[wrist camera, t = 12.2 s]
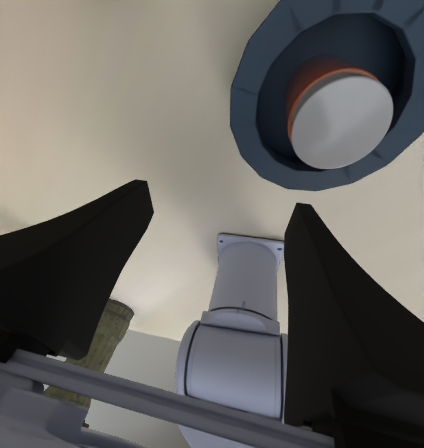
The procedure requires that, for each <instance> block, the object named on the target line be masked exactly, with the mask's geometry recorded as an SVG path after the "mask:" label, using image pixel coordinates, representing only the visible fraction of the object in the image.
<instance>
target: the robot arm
mask: <svg viewBox="0 0 424 448" xmlns="http://www.w3.org/2000/svg"><path fill="white" fill-rule="evenodd" d="M153 214H154V210H153V206H152V201H151V197H150V192H149V188H148V183H147V181H143V180H133V181H131V182H129V183H127V184H125V185H123V186H121V187H119V188H117V189H115V190H113V191H111V192H109V193H108V194H106V195H104V196H102V197H100V198H98V199H96V200H94V201H92V202H90V203H88V204H86V205H84V206H81V207H79V208H77V209H75V210H73V211H71V212H68V213H66V214H63V215H61V216H58V217H56V218H53V219H51V220H48V221H45V222H42V223H39V224H36V225H33V226H30V227H27V228H24V229H21V230H18V231H14V232H11V233H7V234H4V235H0V448H152V447H149V446H146V445H142V444H139V443H136V442H133V441H129V440H125V439H122V438H119V437H116V436H112V435H109V434H106V433H102V432H99V431H95V430H92V429H89V428H85V427H82V424H83V422H84V420H85V418H86V415H87V413H88V409H87V408H84V407H81V406H78V405H74V404H71V403H68V402H65V401H61V400H58V399H55V398H51V397H48V396H45V395H44V385H43V384H46V385H49V386H52V387H56V388H59V389H62V390H66V391H69V392H72V393H76V394H79V395H82V396H85V397H89V398H92V399H95V400H99V401H102V402H105V403H109V404H112V405H115V406H119V407H122V408H125V409H129V410H132V411H135V412H139V413H142V414H145V415H148V416H152V417H155V418H158V419H162V420H165V421H168V422H172V423H175V424H177V425H178V427H179V428H180V430H181V432H182V434H183V435H184V437H185V438H186V440H187V442H188V443H189V445H190V446H191V448H424V322H423V321H421V320H420V319H419V318H417V317H416V316H415V315H414V314H412V313H411V312H410V311H409V310H408V309H406V308H405V307H404V306H403V305H401V304H400V303H399V302H398V301H397V300H396V299H395V298H393V297H392V296H391V295H390V294H389V293H388V292H386V291H385V290H384V289H383V288H382V287H381V286H380V285H379V284H378V283H377V282H376V281H374V280H373V279H372V278H371V277H370V276H369V275H368V274H367V273H366V272H365V271H364V270H363V269H362V268H361V267H360V266H359V265H358V264H357V262H356V261H355V260H354V259H353V258H352V257H351V256H350V255H349V254H348V252H347V251H346V250H345V249H344V248H343V247H342V245H341V244H340V243H339V242H338V241H337V239H336V238H335V237H334V236H333V234H332V233H331V232H330V230H329V229H328V228H327V226H326V225H325V224H324V222H323V221H322V220H321V218H320V217H319V215H318V214H317V213H316V211H315V210H314V208H313V207H312V206H311V205H310V204H303V203H296V205H295V208H294V211H293V213H292V216H291V218H290V221H289V224H288V226H287V229H286V231H285V235H284V242H282V241H275V240H267V239H259V238H251V237H243V236H235V235H227V234H219V235H218V238H217V241H218V270H217V275H216V279H215V283H214V288H213V292H212V296H211V301H210V305H209V310H208V312H207V311H203V313H202V317H201V321H199V320H196V321H194V322H193V323H192V324H191V325H190V326H189V327H188V328H187V330H186V332H185V333H184V336H183V338H182V341H181V344H180V347H179V351H178V356H177V361H176V372H175V375H176V376H175V377H176V385H177V390H176V393H173V392H170V391H166V390H163V389H159V388H156V387H152V386H148V385H145V384H141V383H138V382H134V381H130V380H127V379H124V378H120V377H116V376H113V375H109V374H106V373H102V372H99V371H95V370H92V369H88V368H84V367H81V366H77V365H74V364H70V363H67V362H63V361H60V360H56V359H52V358H49V357H46V355H47V354H48V355H51V356H55V357H56V356H58V355H59V356H63V357H66V358H70V359H73V360H77V361H78V360H81V359H82V358H84V357H85V356H87V355H88V352H89V349H90V346H91V343H92V340H93V337H94V335H95V332H96V329H97V326H98V324H99V321H100V319H101V316H102V314H103V311H104V309H105V306H106V304H107V302H108V299H109V297H110V295H111V292H112V290H113V288H114V286H115V284H116V282H117V279H118V277H119V275H120V273H121V271H122V269H123V267H124V266H125V264H126V262H127V261H128V259H129V257H130V256H131V254H132V252H133V251H134V249H135V248H136V246H137V244H138V243H139V241H140V240H141V238H142V236H143V235H144V233H145V231H146V230H147V228H148V225H149V223H150V221H151V219H152V216H153ZM222 240H223V241H222ZM283 252H284V261H285V271H286V281H287V291H288V335H287V334H284V333H281V335H280V323H279V322H278V321H277V272H278V268H279V265H280V262H281V258H282V255H283Z"/></svg>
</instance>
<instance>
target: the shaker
mask: <svg viewBox="0 0 424 448" xmlns="http://www.w3.org/2000/svg"><path fill="white" fill-rule="evenodd" d="M284 105H285V113H286V121H287V128H288V135H289V139H290V141H291V143H292V146H293V149H294V151H295V153H296V155H297V156H298V157H299V158H300V159H301V160H302V161H303V162H304V163H306V164H308V165H310V166H312V167H315V168H320V169H335V168H340V167H344V166H347V165H350V164H352V163H354V162H356V161H358V160H360V159H361V158H363V157H365V156H366V155H367V154H369V153H370V152H371V151H372V150H373V149H374V148H375V147H376V146H377V145H378V144H379V143H380V142H381V140H382V139H383V138H384V136H385V134H386V133H387V131H388V129H389V126H390V124H391V121H392V117H393V101H392V97H391V95H390V92H389V91H388V89H387V88H386V87H385V86H384V85H383V84H382V83H381V82H380V81H379V80H378V79H377V78H376V77H375V76H374V75H373V74H372V73H370V72H368V71H366V70H364V69H363V68H361V67H359V66H357V65H355V64H353V63H351V62H349V61H347V60H345V59H343V58H341V57H339V56H337V55H334V54H326V53H325V54H319V55H315V56H313V57H311V58H309V59H307V60H305V61H304V62H303V63H301V64H300V65H299V66H298V67H297V68H296V69H295V70H294V72H293V73H292V75H291V76H290V78H289V80H288V82H287V84H286V87H285V91H284Z"/></svg>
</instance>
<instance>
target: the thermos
mask: <svg viewBox="0 0 424 448" xmlns="http://www.w3.org/2000/svg"><path fill="white" fill-rule="evenodd" d="M133 315H134V312H133V311H132V309H130V308H129V307H128V306H126V305H124V304H122V303H120V302H117V301H114V300H110V299H108V302H107V304H106V306H105V309H104V311H103V314H102V316H101V319H100V321H99V324H98V326H97V329H96V332H95V335H94V337H93V340H92V343H91V346H90V349H89V352H88V355H87V356H85V357H84V358H82V359H81V360H78V361H77V360H73V359H70V358H67V359H66V361H65V362H67V363H70V364H74V365H77V366H81V367H84V368H88V369H92V370H95V371H99V372H102V373H104V371H105V369H106V367H107V365H108V363H109V361H110V358H111V357H112V354H113V352H114V350H115V348H116V346H117V345H118V344H119V342H120V341H121V340H122V339H123V337H124V335H125V333H126V331H127V329H128V327H129V323H130V320H131V318H132V317H133ZM44 395H45V396H48V397H51V398H55V399H58V400H61V401H65V402H68V403H71V404H74V405H78V406H81V407H84V408H87V409H88V410H89V408H90V403H91V398H89V397H85V396H82V395H79V394H76V393H72V392H69V391H66V390H62V389H59V388H56V387H52V386H49V387H48V388H47V389H46V390H45V391H44ZM84 422H85V420H84ZM84 422H83V424H82V427H85V428H88V427H89V425H88V424H86V423H84Z"/></svg>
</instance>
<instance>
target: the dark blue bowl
mask: <svg viewBox="0 0 424 448" xmlns="http://www.w3.org/2000/svg"><path fill="white" fill-rule="evenodd" d="M325 53H326V54H334V55H337V56H339V57H341V58H343V59H345V60H347V61H349V62H351V63H353V64H355V65H357V66H359V67H361V68H363V69H364V70H366V71H368V72H370V73H372V74H373V75H374V76H375V77H376V78H377V79H378V80H379V81H380V82H381V83H382V84H383V85H384V86H385V87H386V88H387V89H388V91H389V92H390V95H391V97H392V101H393V117H392V121H391V124H390V126H389V129H388V131H387V133H386V134H385V136H384V138H383V139H382V140H381V142H380V143H379V144H378V145H377V146H376V147H375V148H374V149H373V150H372V151H371V152H370V153H369V154H367V155H366V156H365V157H363V158H361V159H360V160H358V161H356V162H354V163H352V164H350V165H347V166H344V167H340V168H335V169H320V168H315V167H312V166H310V165H308V164H306V163H304V162H303V161H302V160H301V159H300V158H299V157H298V156H297V155H296V153H295V151H294V149H293V146H292V143H291V141H290V139H289V135H288V128H287V121H286V113H285V105H284V91H285V87H286V84H287V82H288V80H289V78H290V76H291V75H292V73H293V72H294V70H295V69H296V68H297V67H298V66H299V65H300V64H301V63H303V62H304V61H305V60H307V59H309V58H311V57H313V56H315V55H319V54H325ZM230 127H231V130H232V133H233V135H234V138H235V141H236V144H237V146H238V149H239V152H240V154H241V156H242V158H243V159H244V160H245V161H246V162H247V163H248V164H249V165H250V166H251V167H252V168H253V169H254V170H255V171H256V172H257V174H258V175H259V176H261V177H262V178H264V179H266V180H268V181H271V182H273V183H275V184H277V185H279V186H282V187H284V188H287V189H295V190H307V191H320V190H324V189H329V188H334V187H338V186H343V185H347V184H351V183H354V182H356V181H358V180H360V179H362V178H363V177H365V176H367V175H369V174H371V173H373V172H375V171H377V170H379V169H381V168H383V167H385V166H387V164H389V163H390V162H391V161H393V160H394V159H395V158H396V157H397V156H398V155H399V154H400V153H402V152H403V151H404V150H405V149H406V148H407V147H408V146H409V145H410V144H412V143H413V142H414V141H415V140H416V139H417V138H418V137H419V136H420V135H422V133H423V132H424V0H280V1H279V3H278V4H277V5H276V6H275V8H274V9H273V10H272V11H271V13H270V14H269V15H268V16H267V18H266V19H265V20H264V22H263V23H262V24H261V25H260V27H259V28H258V29H257V30H256V32H255V33H254V34H253V35H252V37H251V38H250V39H249V41H248V43H247V45H246V48H245V50H244V53H243V56H242V58H241V61H240V64H239V67H238V69H237V72H236V75H235V77H234V80H233V83H232V86H231V99H230Z"/></svg>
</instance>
